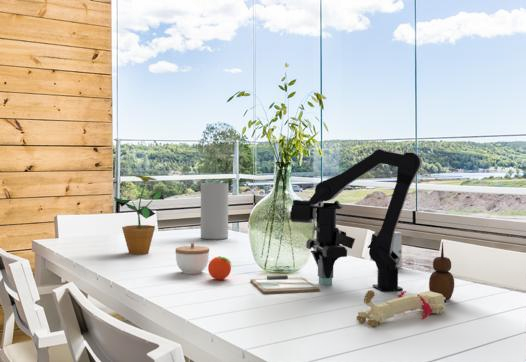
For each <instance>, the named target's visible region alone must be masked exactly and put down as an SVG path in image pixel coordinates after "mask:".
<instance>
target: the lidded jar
mask: <svg viewBox="0 0 526 362" xmlns="http://www.w3.org/2000/svg"><path fill="white" fill-rule="evenodd" d="M209 256H210V248H209V247H207V246H204V245H195V243H194V242H191V243H190V245H184V246H183V245H182V246H178V247H176V248H175V261H176V264H177V267H178V269H179V270H181V272H182V273H183V274H186V275H198V274H202V273H203V271H204V270H205V269H206V268H207V267H208V264H209V263H208V262H209V260H210V259H209Z"/></svg>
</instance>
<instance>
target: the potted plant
mask: <svg viewBox="0 0 526 362" xmlns="http://www.w3.org/2000/svg"><path fill="white" fill-rule="evenodd" d="M135 177H136V178H140V179H141V180H142V181H143V182H144V184H143V188H142V191H141V194H140V198H139V202H138V208H137V207H136V205H135V203H134V202H133V199H131V198H130V199H129V198H128V199H127V198H125V199H122V198H118V197H113V199H114V200H115V201H116V202H117V203H118V205H120V207H121V208H122V207H124V206H126V207H127V208H128V209H130V210H132V211H136V214H137V217H138V218H137V219H138V220H137V221H138V223H137V224H136V225H135V224H134V225H133V224H132V225H125V226H122V227H121V228H122V232H123V236H124V240H125V243H126V246H127V251H128V253H129V254H130V255H137V256H138V255H146V254H147V255H148V254H149V252H150V248H151V244H152V240H153V236H154V232H155V229H156V227H155V225H147V224H141V217H143V218H145V219H149V218H150V217H153V216H154V215H155V214H156V212H154V211H152V209H150V208H149V207H148V206H150V205H151V203H152V202H153V200H156V201H157V200H161V201H162V200H165V199H164V195H163V192H162V189H161V190H160V189H159V191H156V192H154V193H153V194H151V195H150V198H151V200H150V201H149V202H148V203H147V205H143V206H141V203H142V197H143V194H144V191H145V190H144V189H145V185H146V183H147V182H148V181H157V179H156V178H154V177H150V176H143V175H139V174H138V175H135ZM130 201H131V202H132V204H133V205H132V204H129V202H130Z"/></svg>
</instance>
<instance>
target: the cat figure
mask: <svg viewBox="0 0 526 362" xmlns="http://www.w3.org/2000/svg"><path fill="white" fill-rule="evenodd" d="M405 293H407V290H404V291H401V292H400V294H398V295H397V298H392V299H389V300H386V301H385V302H383V303H380V304H376V303H374V301H372V299H373V298H374V297H375V296H376V295H375V294H376V293H375V291H374V290H373V289H370V290H367V292H366V293H365V295H364V298H363V303H364V304H365V305H366V306H367V307H370V309H368V310H367V309H366V311H363V310H360V311H359V310H358V312H357V314H358V315H356V321H358V323H360V324H364V323H366V322H367V324H368V325H369V327H370V328H376V327H377V326H378V323H379V324H383V323H385V322H386V319H389V318H393V317H394V316H396V315H398V314H402V313H403V314H404V313H406V312H407V311H410V312H414V311H416V310H421V311H422V316H421V318H419V319H421V320H425V319H426V318H428V316H429V315H430V314H436V315H439V314H442V311H445V310H446V306H447V302H448V300H446V298H445V297H443V295H442V294H439V293H435V292H431V291H430V290H429V291H428V290H426V291H422V292H420V293H415V294H412V295H410V294H408V295H404V294H405Z"/></svg>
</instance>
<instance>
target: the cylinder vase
mask: <svg viewBox="0 0 526 362" xmlns="http://www.w3.org/2000/svg"><path fill="white" fill-rule="evenodd" d="M228 237H229V183H226V182H225V183H223V182H205V183H203V182H202V183H200V238H201V239H203V240H209V241H211V240H212V241H215V240H216V241H217V240H218V241H219V240H226V239H228Z"/></svg>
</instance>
